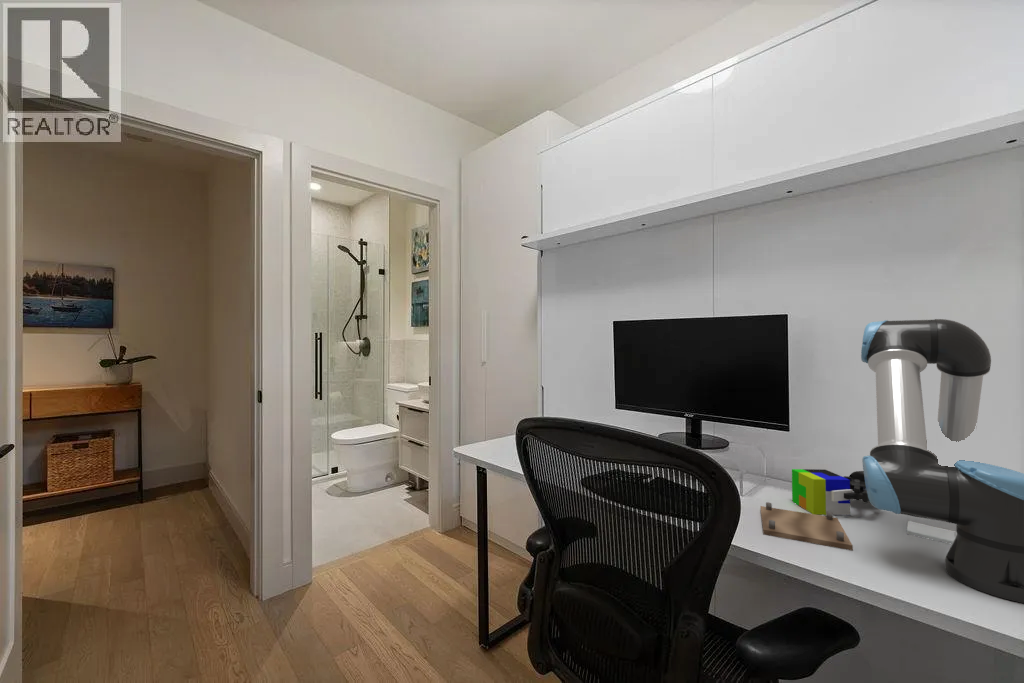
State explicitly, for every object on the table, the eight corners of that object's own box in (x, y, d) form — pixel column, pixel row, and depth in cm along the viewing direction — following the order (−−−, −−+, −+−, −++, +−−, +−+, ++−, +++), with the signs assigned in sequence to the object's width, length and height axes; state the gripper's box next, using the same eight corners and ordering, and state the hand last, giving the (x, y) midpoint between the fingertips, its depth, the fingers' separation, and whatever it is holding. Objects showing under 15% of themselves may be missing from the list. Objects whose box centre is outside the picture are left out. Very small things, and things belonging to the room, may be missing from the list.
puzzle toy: (850, 515, 119) (849, 479, 119) (813, 514, 119) (813, 479, 119) (825, 502, 129) (825, 469, 129) (792, 501, 129) (791, 469, 129)
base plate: (837, 522, 114) (837, 511, 114) (852, 550, 98) (852, 537, 98) (760, 510, 123) (760, 499, 123) (763, 534, 107) (763, 522, 107)
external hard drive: (908, 526, 113) (976, 541, 104) (906, 536, 107) (979, 553, 98) (908, 520, 113) (976, 535, 104) (906, 529, 107) (979, 546, 98)
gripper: (916, 510, 116) (853, 517, 111) (831, 483, 140) (777, 487, 135) (915, 483, 116) (853, 489, 112) (831, 460, 140) (777, 464, 135)
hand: (811, 488), depth 123 cm, fingers closed on puzzle toy, 12 cm apart
